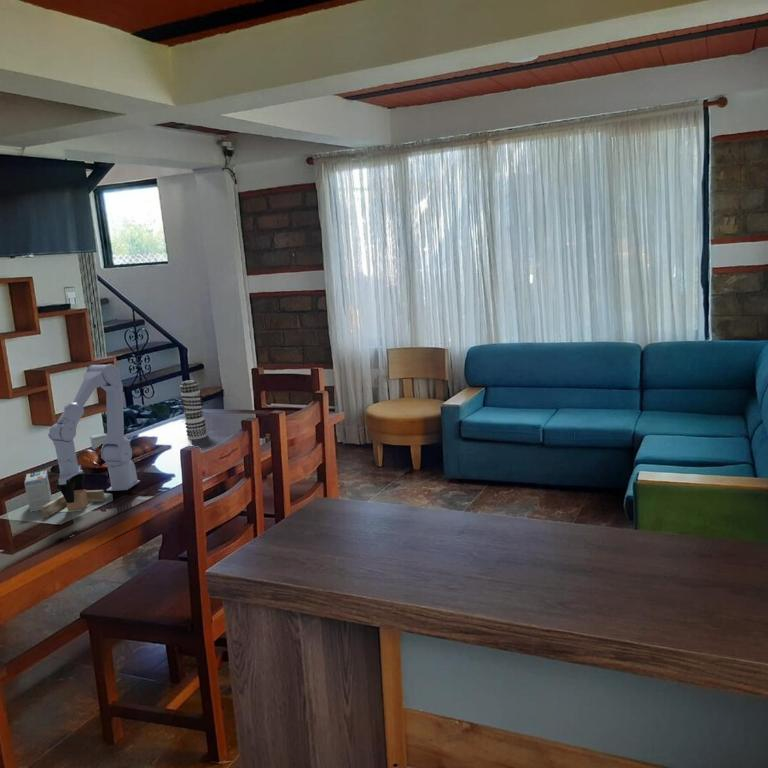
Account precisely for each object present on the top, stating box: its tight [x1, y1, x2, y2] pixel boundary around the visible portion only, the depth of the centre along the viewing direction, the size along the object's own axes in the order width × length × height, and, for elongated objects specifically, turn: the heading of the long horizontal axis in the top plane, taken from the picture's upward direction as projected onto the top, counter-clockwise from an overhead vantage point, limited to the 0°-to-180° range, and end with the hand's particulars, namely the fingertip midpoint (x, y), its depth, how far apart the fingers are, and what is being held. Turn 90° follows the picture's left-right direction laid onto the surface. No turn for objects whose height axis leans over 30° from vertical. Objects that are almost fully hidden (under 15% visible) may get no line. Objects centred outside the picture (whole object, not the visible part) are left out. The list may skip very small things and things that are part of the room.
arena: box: [41, 489, 106, 518], centre depth 245 cm, size 15×13×4 cm
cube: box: [66, 488, 89, 510], centre depth 246 cm, size 5×5×5 cm
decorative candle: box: [179, 379, 208, 440], centre depth 325 cm, size 9×9×25 cm
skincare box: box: [89, 433, 107, 449], centre depth 296 cm, size 6×4×12 cm
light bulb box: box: [24, 470, 53, 513], centre depth 251 cm, size 11×7×11 cm, turn 22°
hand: (74, 498), depth 246 cm, fingers open, 7 cm apart
